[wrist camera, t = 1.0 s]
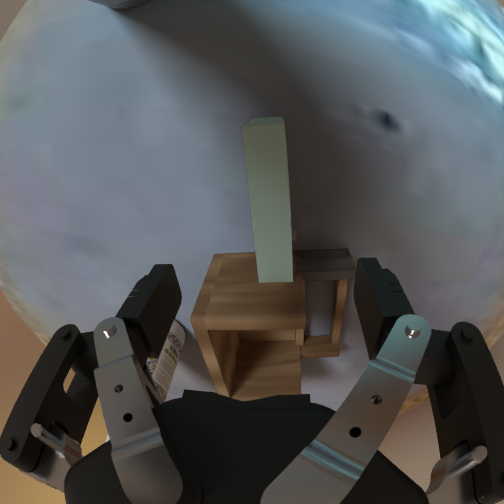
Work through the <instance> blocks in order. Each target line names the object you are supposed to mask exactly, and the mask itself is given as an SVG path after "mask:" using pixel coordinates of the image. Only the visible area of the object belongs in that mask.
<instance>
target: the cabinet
mask: <svg viewBox="0 0 504 504" xmlns="http://www.w3.org/2000/svg"><path fill="white" fill-rule="evenodd" d="M292 263H293V282H267V283H259V279H258V270H257V261H256V252H252V253H227V254H214V256H213V258H212V261H211V264H210V266H209V269H208V272H207V274H206V277H205V279H204V282H203V285H202V287H201V290H200V293H199V296H198V298H197V301H196V304H195V306H194V309H193V312H192V315H191V317H190V321H191V324H192V327H193V329H194V332H195V335H196V338H197V341H198V343H199V346H200V349H201V352H202V354H203V357H204V360H205V362H206V365H207V367H208V370H209V372H210V375H211V378H212V380H213V383H214V385H215V387H216V390H217V392H218V394H220V395H223V396H227V397H230V398H234V399H237V400H241V401H249V400H255V399H260V398H265V397H270V396H275V395H296V394H301V363H300V358H320V357H335V356H339V353H340V350H339V344H338V343H339V338H340V332H341V326H342V320H343V314H344V307H345V300H346V292H347V285H348V279H355V271H356V270H355V267H354V264H353V262H352V259H351V256H350V254H349V251H348V249H326V250H302V251H292ZM321 280H336V286H335V297H334V306H333V314H332V323H331V330H330V335H324V336H304V329H306V311H305V281H321ZM295 329H296V331H295Z"/></svg>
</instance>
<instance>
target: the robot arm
mask: <svg viewBox="0 0 504 504" xmlns="http://www.w3.org/2000/svg"><path fill="white" fill-rule="evenodd" d="M89 1H92V2H95V3H99V4H102V5H105V6H107V7H110V8H113V9H126V8H131V7H134V6H138V5H140V4H142V3H144V2H146V1H148V0H89ZM132 290H133V291H131V293H130V294H129V297H127V299H126V300H125V302H124V303H123V305H122V307H121V308H120V310H119V311H118V313H117V315H116V316H115V317H111V318H107V319H105V320H103V321H102V322H100V323H99V324H98V325H97V326H96V328H95V330H94V331H92V332H86V333H80V331H79V329H78V328H77V326H76V325H73V324H68V325H65V326H63V327H61V328H59V329H58V330H57V331H56V332H55V334H54V335H53V337H52V338H51V340H50V342H49V343H48V345H47V347H46V348H45V350H44V351H43V354H42V355H41V357H40V358H39V360H38V362H37V363H36V366H35V367H34V369H33V370H32V372H31V374H30V376H29V378H28V380H27V381H26V384H25V385H24V387H23V389H22V391H21V393H20V395H19V397H18V399H17V401H16V403H15V405H14V407H13V409H12V412H11V414H10V416H9V418H8V420H7V423H6V425H5V427H4V429H3V432H2V434H1V437H0V455H1V457H2V458H3V459H4V460H5V461H7V462H8V463H10V464H12V465H13V466H15V467H16V468H18V469H19V470H20V471H21V472H23V473H25V474H27V475H28V476H30V477H32V478H34V479H36V480H37V481H39V482H42V483H45V484H47V485H49V486H51V487H53V488H55V489H58V490H60V491H62V492H64V494H65V500H66V504H495V503H497V502H499V501H502V500H504V385H503V383H502V380H501V377H500V375H499V372H498V370H497V367H496V365H495V363H494V360H493V358H492V356H491V353H490V351H489V349H488V347H487V345H486V342H485V340H484V338H483V336H482V334H481V332H480V331H479V329H478V328H477V327H476V326H474V325H473V324H471V323H468V322H458V323H456V324H455V325H454V326H453V327H452V329H451V331H450V332H448V331H441V330H434V329H431V327H430V325H429V323H428V322H427V321H426V320H425V319H423V318H422V317H420V316H417V315H415V313H414V311H413V309H412V307H411V305H410V303H409V301H408V299H407V297H406V295H405V293H404V292H403V289H402V287H401V285H400V283H399V281H398V279H397V277H396V275H395V274H393V273H392V272H391V271H390V270H389V269H382V268H381V266H380V264H379V262H378V260H377V258H359V259H358V262H357V269H356V277H355V284H354V301H355V305H356V309H357V312H358V316H359V319H360V323H361V327H362V331H363V335H364V338H365V342H366V346H367V351H368V355H369V359H370V361H371V362H370V363H369V365H368V366H367V368H366V370H365V371H364V373H363V374H362V376H361V377H360V379H359V380H358V382H357V383H356V385H355V386H354V388H353V389H352V391H351V392H350V393H349V395H348V396H347V398H346V399H345V401H344V402H343V403H342V405H341V406H340V407H339V409H338V410H337V411H334V410H332V409H330V408H328V407H325V406H323V405H319V404H316V403H311V402H310V394H296V395H275V396H270V397H265V398H260V399H255V400H249V401H241V400H237V399H234V398H230V397H227V396H223V395H220V394H217V393H214V392H204V391H194V390H185V389H184V393H183V396H182V398H177V399H172V400H169V401H166V402H163V400H162V398H161V396H160V394H159V391H158V389H157V387H156V384H155V382H154V380H153V377H152V375H151V372H150V370H149V367H148V365H147V364H146V362H147V359H148V358H154V359H158V358H159V356H160V353H161V351H162V348H163V346H164V343H165V341H166V338H167V336H168V333H169V331H170V329H171V326H172V324H173V321H174V319H175V317H176V314H177V312H178V310H179V307H180V305H181V300H182V295H181V290H180V286H179V283H178V280H177V276H176V273H175V270H174V267H173V265H172V264H156V265H154V267H153V268H152V270H151V271H150V273H149V274H148V275H145V276H144V277H143V278H142V279H140V280H139V281H138V282H137V283H136V285H135V286H134V288H133V289H132ZM70 368H72V369H73V371H74V372H75V373H76V374H75V376H74V378H73V380H72V382H71V384H70V386H69V389H68V391H67V393H65V391H64V388H63V383H64V380H65V378H66V376H67V374H68V372H69V370H70ZM413 383H414V384H422V385H427V389H428V393H429V397H430V402H431V406H432V411H433V416H434V421H435V426H436V432H437V438H438V444H439V451H440V458H441V459H440V460H439V461H438V462H437V463H436V464H435V466H434V467H433V469H432V472H431V481H430V485H429V487H428V489H427V491H426V492H424V491H423V489H422V488H421V487H420V486H419V485H417V484H416V483H415V482H414V481H413V480H412V479H410V478H409V477H408V476H407V475H406V474H405V473H403V472H402V471H401V470H400V469H399V468H398V467H397V466H395V465H394V464H393V463H392V462H391V461H390V460H389V459H388V458H386V457H385V456H384V455H383V454H382V453H381V452H380V451H379V450H378V448H379V446H380V445H381V443H382V441H383V440H384V438H385V436H386V434H387V433H388V431H389V429H390V428H391V426H392V424H393V422H394V420H395V419H396V417H397V415H398V413H399V411H400V409H401V407H402V405H403V403H404V401H405V399H406V397H407V395H408V393H409V391H410V389H411V387H412V384H413ZM98 396H99V400H100V403H101V408H102V412H103V416H104V420H105V424H106V427H107V430H108V434H109V437H110V440H108V441H107V442H105V443H104V444H102V445H101V446H99V447H98V448H97V449H95V450H94V451H92V452H91V453H89V454H87V455H86V456H83V455H82V451H81V447H80V445H81V442H82V439H83V436H84V433H85V430H86V428H87V425H88V422H89V419H90V417H91V414H92V411H93V409H94V406H95V404H96V401H97V398H98Z"/></svg>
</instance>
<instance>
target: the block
mask: <svg viewBox="0 0 504 504" xmlns="http://www.w3.org/2000/svg"><path fill="white" fill-rule="evenodd" d="M241 129H242V138H243V147H244V155H245V164H246V173H247V182H248V190H249V199H250V208H251V217H252V226H253V234H254V243H255V252H256V261H257V270H258V279H259V283H267V282H293V263H292V241H297V231H296V228H292V229H291V210H290V191H289V174H288V159H287V145H286V132H285V123H284V119H283V116H276V117H262V118H254V119H252V120H251V121H250V122H248V123H247V124H245V125H244V126H243V127H241Z"/></svg>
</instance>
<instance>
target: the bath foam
mask: <svg viewBox="0 0 504 504" xmlns="http://www.w3.org/2000/svg"><path fill="white" fill-rule="evenodd" d="M184 341H185V332H184V329H183V328H182V326H181V325H180V324H179V323H178V322H177V321H176V320H174V321H173V324H172V326H171V329H170V331H169V333H168V336H167V338H166V341H165V343H164V346H163V348H162V351H161V353H160V356H159V358H158V359H154V358H148V359H147V362H146V364H147V365H148V367H149V370H150V372H151V375H152V377H153V380H154V382H155V384H156V387H157V389H158V391H159V394H160V396H161V398H162V400H163V402H165V399H166V396H167V393H168V390H169V387H170V384H171V381H172V377H173V374H174V371H175V368H176V365H177V362H178V359H179V356H180V353H181V350H182V347H183V344H184ZM108 440H110V437H109V434H108V436H107V439H106V441H105V442H107V441H108Z"/></svg>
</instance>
